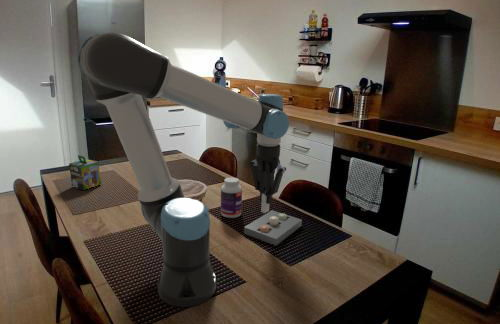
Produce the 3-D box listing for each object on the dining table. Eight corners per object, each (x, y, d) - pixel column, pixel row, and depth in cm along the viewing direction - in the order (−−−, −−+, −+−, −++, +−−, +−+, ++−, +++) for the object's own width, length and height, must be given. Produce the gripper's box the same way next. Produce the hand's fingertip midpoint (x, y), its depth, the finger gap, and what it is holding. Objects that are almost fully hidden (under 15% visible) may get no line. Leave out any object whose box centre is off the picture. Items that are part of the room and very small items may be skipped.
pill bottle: (238, 220, 130) (239, 184, 126) (218, 217, 132) (218, 182, 128) (243, 211, 138) (244, 177, 134) (224, 209, 139) (224, 175, 135)
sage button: (283, 224, 126) (284, 218, 126) (276, 222, 128) (276, 215, 127) (288, 221, 129) (288, 215, 128) (280, 219, 131) (281, 212, 130)
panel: (275, 245, 114) (276, 239, 113) (244, 233, 121) (244, 227, 120) (301, 225, 128) (301, 219, 127) (271, 216, 135) (271, 210, 134)
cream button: (275, 228, 121) (275, 221, 121) (267, 225, 123) (267, 218, 122) (279, 225, 124) (280, 217, 123) (272, 222, 126) (272, 215, 125)
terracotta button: (265, 237, 117) (266, 230, 116) (257, 234, 119) (258, 227, 118) (270, 234, 120) (271, 226, 119) (263, 231, 121) (263, 224, 121)
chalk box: (101, 185, 160) (98, 154, 156) (83, 191, 153) (80, 159, 148) (89, 181, 165) (86, 151, 160) (71, 187, 157) (67, 155, 153)
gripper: (292, 144, 110) (287, 213, 116) (258, 138, 117) (255, 202, 124) (280, 149, 104) (275, 220, 111) (245, 142, 111) (243, 209, 118)
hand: (265, 211), depth 117 cm, fingers closed
